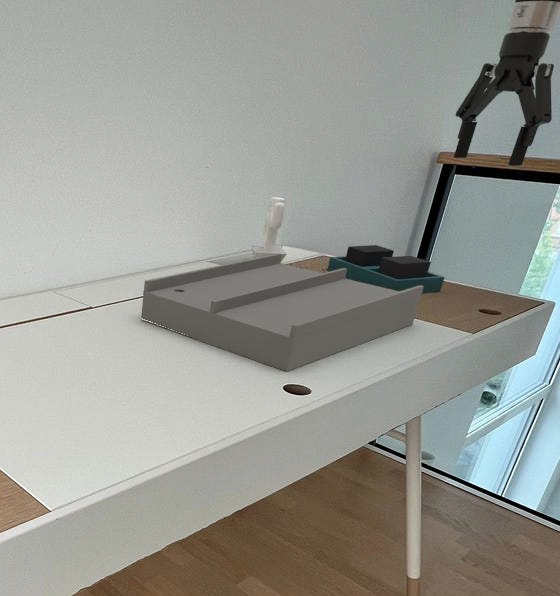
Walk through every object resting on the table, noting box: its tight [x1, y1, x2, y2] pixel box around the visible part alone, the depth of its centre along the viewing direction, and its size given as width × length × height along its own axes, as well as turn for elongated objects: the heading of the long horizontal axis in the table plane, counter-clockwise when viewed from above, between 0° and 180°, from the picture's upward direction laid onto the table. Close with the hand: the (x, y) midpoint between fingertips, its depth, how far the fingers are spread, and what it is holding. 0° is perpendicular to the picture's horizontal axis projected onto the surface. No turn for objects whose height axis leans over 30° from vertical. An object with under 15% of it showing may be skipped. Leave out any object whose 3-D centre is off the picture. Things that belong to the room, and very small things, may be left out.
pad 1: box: [345, 244, 395, 267], centre depth 155 cm, size 6×8×4 cm
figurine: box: [250, 196, 287, 264], centre depth 157 cm, size 7×9×15 cm
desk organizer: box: [140, 253, 424, 372], centre depth 122 cm, size 32×40×7 cm
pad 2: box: [378, 255, 432, 280], centre depth 146 cm, size 6×8×4 cm
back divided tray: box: [327, 255, 445, 294], centre depth 152 cm, size 22×13×3 cm, turn 20°
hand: (486, 161), depth 136 cm, fingers open, 13 cm apart
